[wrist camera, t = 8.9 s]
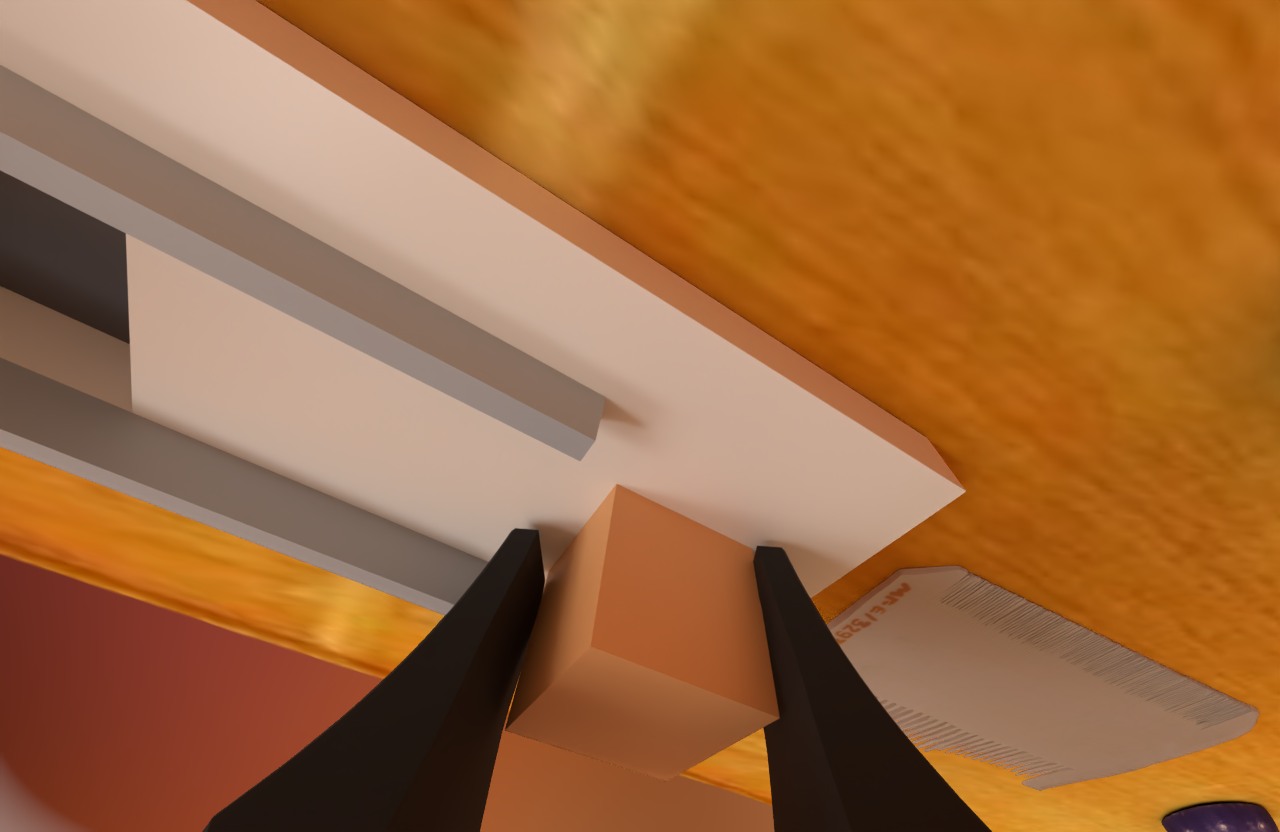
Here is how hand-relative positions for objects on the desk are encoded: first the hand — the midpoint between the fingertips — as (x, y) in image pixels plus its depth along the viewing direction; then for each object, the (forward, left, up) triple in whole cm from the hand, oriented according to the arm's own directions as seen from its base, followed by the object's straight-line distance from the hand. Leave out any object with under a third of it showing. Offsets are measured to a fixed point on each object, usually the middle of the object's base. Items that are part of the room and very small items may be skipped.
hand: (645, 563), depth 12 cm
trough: (-4, -6, -2) cm, 8 cm away
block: (0, 0, 0) cm, 1 cm away
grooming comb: (+11, +14, -3) cm, 18 cm away
